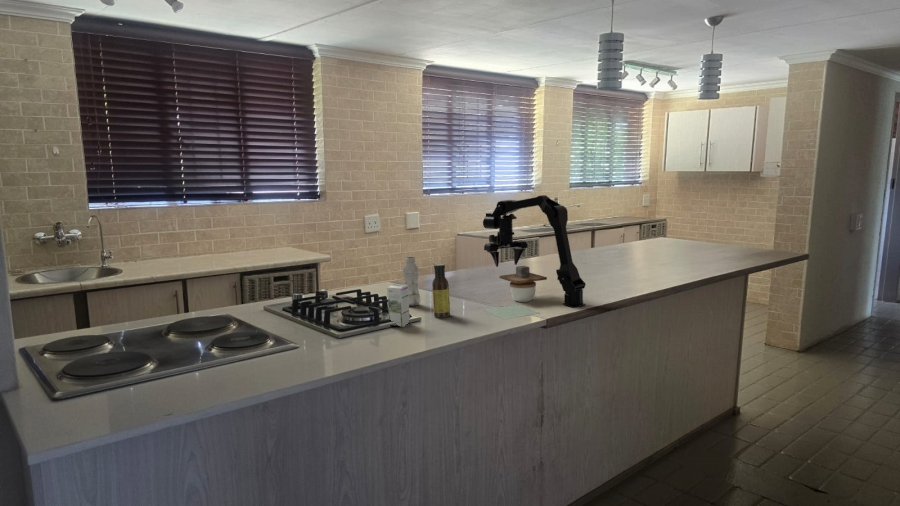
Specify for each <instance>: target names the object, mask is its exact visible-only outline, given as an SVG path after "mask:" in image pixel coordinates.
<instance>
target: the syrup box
mask: <svg viewBox="0 0 900 506" xmlns="http://www.w3.org/2000/svg"><path fill="white" fill-rule="evenodd" d="M386 289H387V290H386V291H387V305H388V308H387V310H388V321H389V320H391V321H394V322H395V323H396V324H397V325H398V326H400V327H399V328H404V327H406V326H407V325H406V324H408V322H409V320H410V319H411V317H410V316H411V315H410V306H409V294H408V285H405V284H391V285H389V286H387V288H386ZM405 325H406V326H405ZM408 325H409V324H408Z"/></svg>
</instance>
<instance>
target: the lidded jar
mask: <svg viewBox="0 0 900 506" xmlns="http://www.w3.org/2000/svg"><path fill="white" fill-rule="evenodd" d="M536 282H537V281H533V282H526V283H518V284H517V283H514V282H510V281H509V288H510V289H509V291H510V295H511V297H512V299H513V300H514V301H515V302H519V303H526V302H527V303H528V302H530V301H532V300H533V298H534V297H535V295H536V290H537V289H536V287H537V286H536V285H537V283H536Z"/></svg>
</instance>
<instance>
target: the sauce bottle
mask: <svg viewBox="0 0 900 506" xmlns="http://www.w3.org/2000/svg"><path fill="white" fill-rule="evenodd" d="M445 268H446V265H445V264H444V263H437V264H434V265H433V269H434V278H433V280H432V283H431V284H432V289H431V290H432V305H433V307H432V308H433V317H434V318H435V319H436V318H437V319H442V318H448V317H449V316H451V313H450V311H451V305H450V304H451V302H450V301H451V300H450V285H449V280H448V279H447V278H446V271H445V270H446V269H445Z"/></svg>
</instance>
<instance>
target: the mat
mask: <svg viewBox="0 0 900 506" xmlns="http://www.w3.org/2000/svg"><path fill="white" fill-rule="evenodd" d="M483 312H487V314H488V313H489V314H490V315H493V316H494V317H498V318H500V319H502V320H506V319H512V318H513V319H514V318H518V317H527V316H533V315H540V311H539V312H538V311H535V310H534V309H533V310H532V309H530V308H529V307H525V306H524V305H520V304H515V305H509V306H508V305H507V306H501V307H495V308H494V307H493V308H488V309H487V308H486V309H483Z"/></svg>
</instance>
